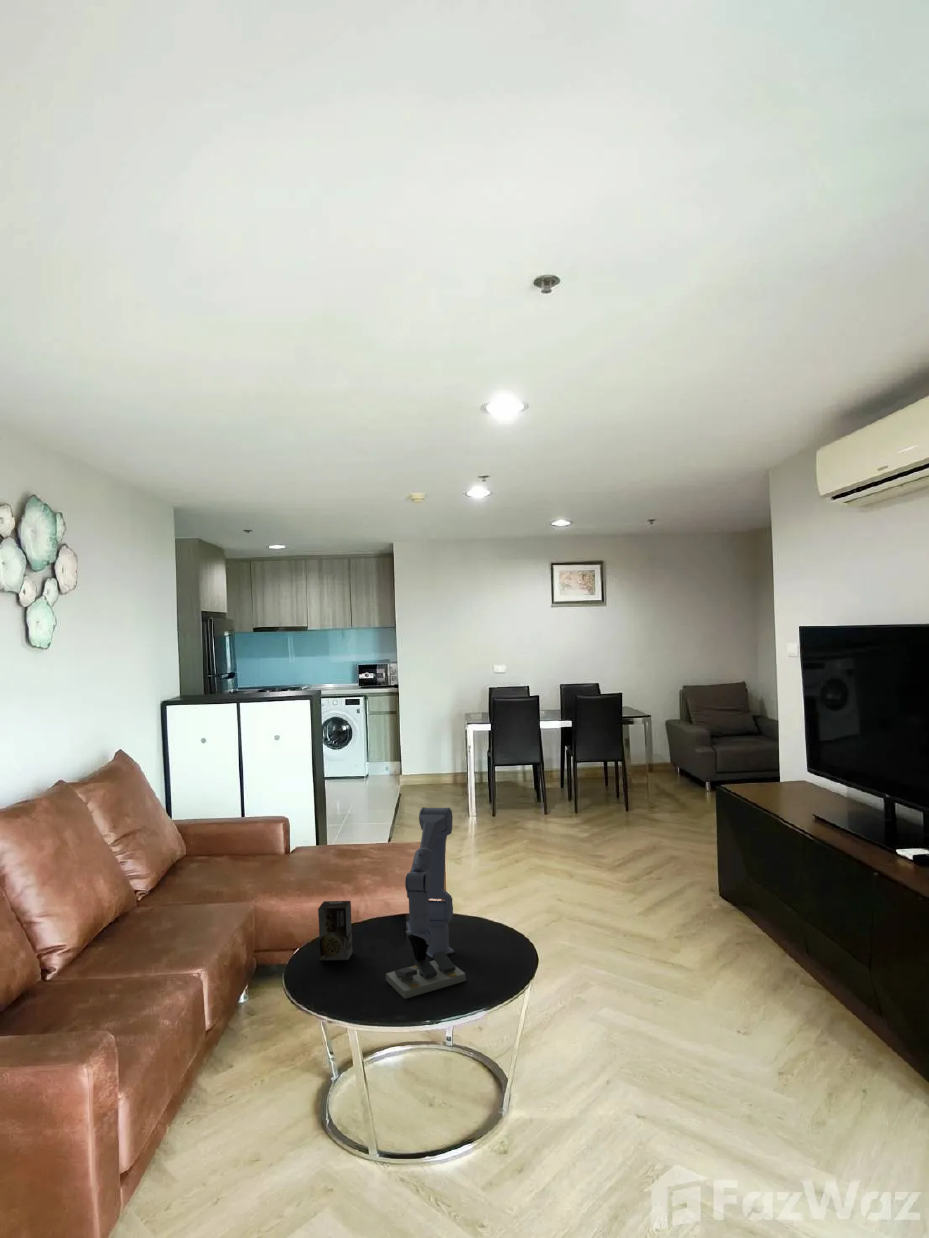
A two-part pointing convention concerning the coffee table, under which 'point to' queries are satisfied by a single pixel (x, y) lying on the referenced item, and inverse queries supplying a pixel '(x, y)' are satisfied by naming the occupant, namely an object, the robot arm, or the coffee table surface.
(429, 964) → the rocker mid
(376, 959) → the coffee table surface
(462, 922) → the coffee table surface
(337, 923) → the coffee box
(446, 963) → the rocker back
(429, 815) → the robot arm
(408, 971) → the block
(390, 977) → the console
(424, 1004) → the coffee table surface
